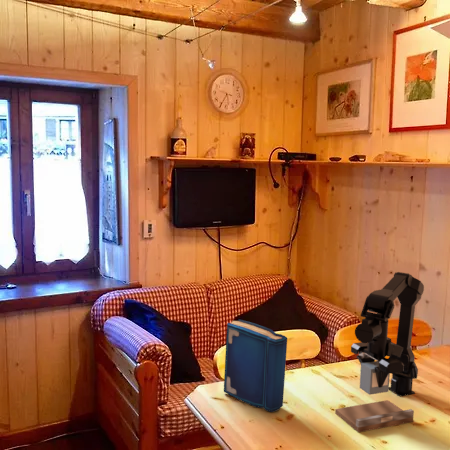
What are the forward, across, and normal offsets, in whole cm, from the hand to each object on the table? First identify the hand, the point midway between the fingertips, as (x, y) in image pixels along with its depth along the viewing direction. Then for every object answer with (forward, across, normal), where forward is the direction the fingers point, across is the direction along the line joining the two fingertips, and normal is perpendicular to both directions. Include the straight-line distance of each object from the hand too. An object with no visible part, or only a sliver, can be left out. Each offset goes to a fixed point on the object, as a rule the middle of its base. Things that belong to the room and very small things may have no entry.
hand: (374, 383), depth 160 cm
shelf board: (+11, -1, 0) cm, 11 cm away
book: (+11, +21, +31) cm, 39 cm away
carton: (+2, 0, 0) cm, 2 cm away
